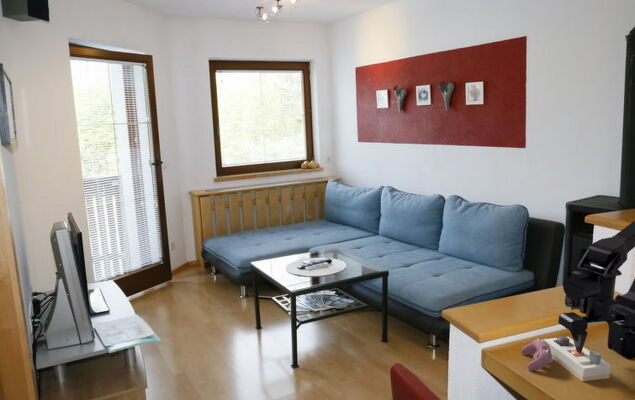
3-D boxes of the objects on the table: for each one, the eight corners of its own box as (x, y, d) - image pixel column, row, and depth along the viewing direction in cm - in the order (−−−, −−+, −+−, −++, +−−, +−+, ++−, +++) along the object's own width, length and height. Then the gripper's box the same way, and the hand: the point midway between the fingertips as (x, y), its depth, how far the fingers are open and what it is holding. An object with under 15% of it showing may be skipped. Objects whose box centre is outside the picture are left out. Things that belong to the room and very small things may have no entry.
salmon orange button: (577, 356, 131) (578, 349, 130) (586, 361, 128) (586, 354, 128) (567, 357, 130) (568, 350, 130) (575, 363, 127) (576, 355, 127)
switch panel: (566, 348, 138) (568, 336, 138) (609, 378, 123) (610, 365, 123) (542, 350, 137) (543, 339, 136) (582, 381, 122) (583, 368, 121)
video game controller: (543, 378, 126) (558, 357, 124) (526, 369, 127) (541, 347, 125) (534, 359, 136) (548, 338, 134) (518, 351, 136) (533, 330, 134)
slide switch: (592, 366, 126) (594, 350, 125) (599, 371, 123) (601, 354, 123) (588, 367, 126) (589, 350, 125) (595, 372, 123) (597, 355, 122)
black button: (563, 342, 136) (564, 335, 136) (571, 347, 133) (572, 340, 133) (554, 343, 136) (554, 336, 135) (561, 348, 133) (562, 341, 132)
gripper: (609, 279, 136) (603, 333, 139) (547, 284, 133) (542, 339, 136) (642, 294, 125) (635, 352, 129) (576, 300, 122) (570, 360, 125)
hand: (594, 350), depth 130 cm, fingers open, 9 cm apart
